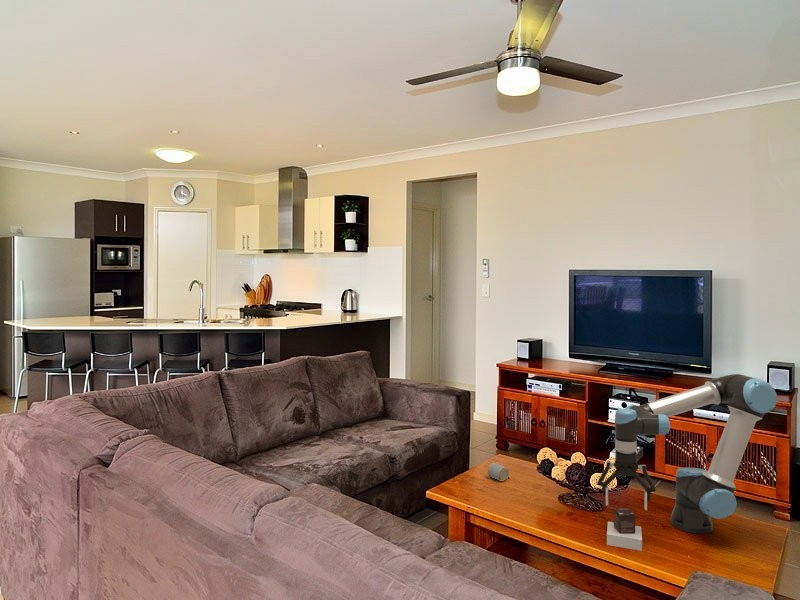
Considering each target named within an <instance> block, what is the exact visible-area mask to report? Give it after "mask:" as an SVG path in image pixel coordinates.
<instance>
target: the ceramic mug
mask: <svg viewBox="0 0 800 600" xmlns="http://www.w3.org/2000/svg"><path fill="white" fill-rule="evenodd" d="M509 471H510V470H508V468H507V467H506V466H503V465H502V464H499V463H498V462H492V463H490V464H489V466H488V468H487V475H488V477H489V476H490V477H492V478H491V479H493V478H495V479H498V480H504V479H507V480H508V479H509V478H508V477H509V476H510V477H511V475H510V474H509ZM490 477H489V478H490ZM495 479H494V480H495ZM498 480H497V481H498Z"/></svg>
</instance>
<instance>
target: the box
mask: <svg viewBox="0 0 800 600" xmlns="http://www.w3.org/2000/svg"><path fill="white" fill-rule="evenodd" d="M636 519H637V518H636V513H635V512H634V511H633V510H631V508H629V507H628V508H627V507H626V508H625V507H621V508H620V507H615V508H613V522H614V527H615V529H616V530H617V531H618V532H619V533H635V526H636Z"/></svg>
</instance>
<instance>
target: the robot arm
mask: <svg viewBox="0 0 800 600" xmlns="http://www.w3.org/2000/svg"><path fill="white" fill-rule="evenodd" d="M777 401H778V396H777V392H776V391H775V388H774V387H773V386H772V384H770V383H769V382H767V381H765V380H763V379H760V378H756V377H751V376H747V375H743V374H737V373H736V374H735V373H733V374H727V375H724V376H720V377H716V378H714V379H710V380H707V381H705V383H704V385H700V386H697V387H694V388H691V389H688V390H687V389H686V390H684V391H681V392H679V393H674V394H673V395H669V396H666V397H663V398H660V399H655V400H653V401H650V402H647V403H643V404H640V405H637V404H629V405H628V406H627V407H625V408H619V409H617V410H615V412H614V413H615V415H614V431H615V432H614V434H615V437H614V449H615V451H614V457H615V460H614V462H612V461H610V460H607V461H606V465H605V467H604V469H603V471H602V473H601V475H600V476H599V478H598V480H597V485H598V486H600V487H602V496H605V506H609V486H608V485H610V484H611V482H613V480H615V478H616V477H618V476H619V475H620V476H621V477H622V476H624V477H625V476H627V477H631V476H633V478H635V480H636V481H637V482H638V483H639V484H640V486H641V487H642V488H643V489H644V510H645V511H648V502H650V501H651V493H652V492H656V490H657V489H656V486H655V484H654V482H653V480H652V479H651V477H650V475H649V473H648V471H647V466H646V463H643V464H638V457H637V456H638V454H637V451H638V450H637V449H638V448H637V447H638V442H637V441H638V439H637V438H638V437H637V436H662V435H667V434H669V432H670V431H671V422H670V419H669V418H670V417H673V416H676V415H680V414H682V413H683V414H684V413H686V412H689V411H692V410H695V409H699V408H702V407H705V406H708V405H711V404H714V405H720V404H725V403H728V405H727V409H728V410H729V411H730V412H729V416H728V418H727V421H726V423H725V426H724V428H723V432H722V434H721V436H720V438H719V441H718V443H717V447H716V449H715V452H714V454H713V457H712V459H711V461H710V465H709V467H708V470H706V469H704V468H699V467H679V468H678V469H677V470H676V474H675V505H674V507H673V509H672V512H671V514H670V520H669V521H670V524H671V525H672V526H673V527H674V528H676V529H678V530H680V531H684V532H687V533H692V534H699V535H700V534H701V535H703V534H705V535H706V534H709V533H712V532H713V526H714V524H713V520H712V518H714V519H718V520H719V519H720V520H721V519H725V518H728V517H730V516H732V515H733V514H734V512H735V511H736V509H737V500H736V496H735V494H734V493H735V491H736V488H737V487H736V485H735V483H734V479H735V477H736V475H737V473H738V469H739V467H740V465H741V462H742V459H743V456H744V454H745V451H746V448H747V446H748V443H749V441H750V438H751V435H752V433H753V430H754V428H755V425H756V423H757V422H758V421H761V420H763V418H764V416H765V414H767V413H768V412H770V411H772V410H773V409H774V408H775V406H776V405H777ZM613 467H614V468H615V469H614V471H613V472H612V473H611V475H610V476H609V477H608V478H606V476H607V474H608V472H609V471H610V469H612V468H613ZM638 470H639V471H641V472H642V473H643V475H644V477H645V480H646V482H645V480H643V478H642V477H641V476H640V475H639V474H638V472H637V471H638ZM605 478H606V479H605ZM604 480H605V481H604ZM603 481H604V482H603ZM647 483H648V484H647Z"/></svg>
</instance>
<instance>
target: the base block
mask: <svg viewBox="0 0 800 600" xmlns="http://www.w3.org/2000/svg"><path fill="white" fill-rule="evenodd" d="M606 530H607V531H606V546H612V547H617V548H623V549H629V550H634V551H641V552H642V551H643V537H642V536H643V533H642V526H638V525H635V533H619V532H618V531H617V530H616V529H615V527H614V521H613V522H612V521H607V529H606Z"/></svg>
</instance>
